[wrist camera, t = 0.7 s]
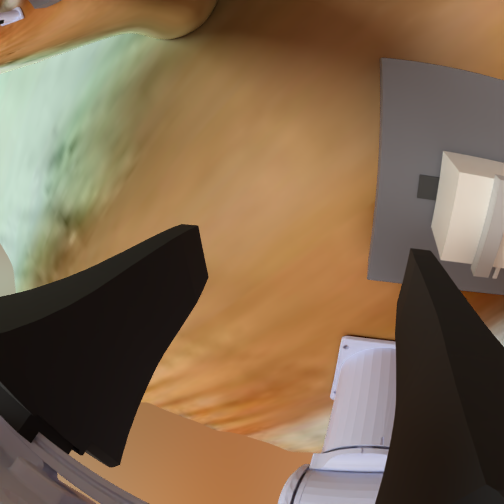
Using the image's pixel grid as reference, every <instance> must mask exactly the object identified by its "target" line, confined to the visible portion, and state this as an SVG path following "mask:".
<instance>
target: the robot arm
mask: <svg viewBox="0 0 504 504" xmlns="http://www.w3.org/2000/svg"><path fill="white" fill-rule="evenodd" d="M207 279H208V272H207V268H206V263H205V258H204V253H203V248H202V243H201V238H200V233H199V228H198V226H196V225H185V224H181V225H178V226H175V227H173V228H170V229H168V230H166V231H164V232H161V233H159V234H157V235H155V236H153V237H151V238H149V239H147V240H145V241H143V242H141V243H139V244H137V245H135V246H133V247H132V248H130V249H128V250H126V251H124V252H122V253H120V254H117V255H115V256H113V257H111V258H109V259H107V260H105V261H103V262H101V263H99V264H97V265H95V266H93V267H91V268H88V269H86V270H84V271H81V272H79V273H76V274H74V275H71V276H69V277H66V278H64V279H61V280H58V281H55V282H52V283H49V284H46V285H43V286H40V287H37V288H34V289H31V290H27V291H23V292H19V293H15V294H11V295H7V296H2V297H0V504H96V503H95V502H93V501H92V500H90V499H89V498H87V497H86V496H84V495H83V494H81V493H79V492H78V491H76V490H74V489H73V488H71V487H69V486H68V485H66V484H64V483H63V482H61V481H59V480H58V478H57V473H59V474H60V475H61V476H63V477H64V478H65V479H66V480H68V481H69V482H70V483H72V484H73V485H75V486H76V487H77V488H79V489H80V490H82V491H83V492H84V493H86V494H87V495H89V496H90V497H92V498H93V499H95V500H96V501H98V502H99V503H101V504H149V503H147V502H145V501H143V500H141V499H139V498H137V497H135V496H133V495H131V494H130V493H128V492H126V491H124V490H122V489H120V488H119V487H117V486H115V485H114V484H112V483H110V482H109V481H107V480H105V479H104V478H102V477H100V476H99V475H97V474H96V473H94V472H93V471H91V470H90V469H88V468H87V467H85V466H83V465H82V464H81V463H79V462H78V461H76V460H75V459H73V458H72V457H71V456H69V455H68V454H69V453H70V451H71V450H74V451H75V452H76V453H78V454H79V455H83V454H84V453H85V452H86V453H88V454H89V455H91V456H92V457H94V458H95V459H97V460H98V461H100V462H102V463H103V464H105V465H107V466H108V467H115V466H118V465H120V462H121V458H122V454H123V451H124V448H125V444H126V441H127V437H128V434H129V431H130V428H131V426H132V423H133V420H134V417H135V415H136V412H137V409H138V407H139V405H140V402H141V400H142V397H143V395H144V393H145V390H146V388H147V386H148V384H149V382H150V380H151V378H152V375H153V373H154V371H155V369H156V367H157V365H158V363H159V361H160V360H161V358H162V356H163V355H164V353H165V351H166V350H167V348H168V347H169V345H170V344H171V342H172V340H173V339H174V337H175V336H176V334H177V333H178V331H179V330H180V328H181V327H182V325H183V324H184V322H185V321H186V319H187V317H188V316H189V314H190V313H191V311H192V310H193V308H194V306H195V305H196V303H197V301H198V299H199V297H200V295H201V293H202V291H203V289H204V286H205V284H206V282H207ZM346 345H348V346H346ZM330 398H331V399H333V400H334V403H333V408H332V412H331V416H330V421H329V425H328V429H327V433H326V437H325V441H324V445H323V449H322V452H321V453H314V454H313V456H312V460H311V463H310V464H305V465H302V466H301V467H299V468H298V469H297V470H296V471H295V472H294V473H292V475H291V476H290V477H289V478H288V480H287V481H286V483H285V485H284V487H283V489H282V492H281V495H280V498H279V502H278V504H504V347H503V345H502V344H501V343H500V342H499V341H498V340H497V338H496V337H495V336H494V335H493V334H492V332H491V331H490V330H489V329H488V327H487V326H486V325H485V324H484V322H483V321H482V320H481V318H480V317H479V316H478V314H477V313H476V312H475V311H474V309H473V308H472V307H471V305H470V304H469V302H468V301H467V300H466V298H465V297H464V296H463V294H462V293H461V292H460V290H459V289H458V287H457V286H456V285H455V283H454V282H453V280H452V279H451V278H450V276H449V275H448V273H447V272H446V271H445V269H444V268H443V266H442V265H441V264H440V262H439V261H438V259H437V258H436V257H435V255H434V254H433V253H432V252H431V251H430V250H422V249H414V248H410V252H409V257H408V261H407V266H406V270H405V274H404V278H403V282H402V286H401V290H400V294H399V298H398V302H397V313H396V329H395V341H386V340H378V339H370V338H362V337H354V336H344V337H342V339H341V344H340V350H339V355H338V361H337V366H336V371H335V376H334V381H333V386H332V390H331V395H330Z"/></svg>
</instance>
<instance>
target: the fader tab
mask: <svg viewBox="0 0 504 504" xmlns="http://www.w3.org/2000/svg"><path fill="white" fill-rule="evenodd" d="M431 228H432V231H433V234H434V238H435V241H436V245H437V248H438V252H439V256H440V260H444V261H452V262H460V263H467V264H472V265H471V270H472V273H473V276H477V277H486V278H488V277H489V275H490V272H491V269H492V267H498V268H504V163H502V162H498V161H494V160H489V159H484V158H480V157H475V156H469V155H464V154H459V153H453V152H447V151H443V156H442V164H441V172H440V179H439V185H438V192H437V198H436V203H435V209H434V214H433V219H432V224H431Z"/></svg>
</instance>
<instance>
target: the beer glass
mask: <svg viewBox="0 0 504 504" xmlns="http://www.w3.org/2000/svg"><path fill="white" fill-rule="evenodd" d="M216 3H217V0H0V74H2V73H6V72H9V71H12V70H15V69H18V68H21V67H25V66H28V65H31V64H35V63H38V62H41V61H43V60H46V59H49V58H51V57H54V56H57V55H60V54H63V53H66V52H69V51H71V50H74V49H77V48H80V47H82V46H85V45H88V44H91V43H94V42H97V41H100V40H103V39H106V38H109V37H113V36H117V35H121V34H128V33H132V34H140V35H143V36H147V37H151V38H156V39H174V38H178V37H182V36H184V35H187V34H189V33H191V32H192V31H194V30H195V29H197V28H198V27H199V26H200V25H202V24H203V23H204V22H205V21H206V19H207V18H208V17H209V16H210V14H211V13H212V11H213V9H214V8H215V5H216Z"/></svg>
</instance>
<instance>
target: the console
mask: <svg viewBox="0 0 504 504" xmlns="http://www.w3.org/2000/svg"><path fill="white" fill-rule="evenodd" d="M443 151H447V152H453V153H459V154H464V155H469V156H475V157H480V158H484V159H489V160H494V161H498V162H502V163H504V81H503V80H500V79H496V78H493V77H489V76H485V75H482V74H478V73H473V72H469V71H465V70H460V69H456V68H451V67H446V66H440V65H435V64H429V63H422V62H416V61H408V60H400V59H392V58H380V140H379V160H378V176H377V189H376V200H375V210H374V219H373V228H372V236H371V244H370V252H369V259H368V275H367V279H368V280H376V281H385V282H393V283H402V282H403V278H404V274H405V270H406V266H407V261H408V257H409V252H410V248H414V249H422V250H430V251H431V252H432V253H433V254H434V255H435V257H436V258H437V259H438V261H439V262H440V264H441V265H442V266H443V268H444V269H445V271H446V272H447V273H448V275H449V276H450V278H451V279H452V280H453V282H454V283H455V285H456V286H457V287H458V289H459V290H463V291H472V292H481V293H490V294H500V295H504V268H498V267H492V269H491V272H490V275H489V277H488V278H486V277H477V276H473V273H472V270H471V265H472V264H467V263H460V262H452V261H444V260H440V256H439V252H438V248H437V245H436V241H435V238H434V234H433V231H432V228H431V224H432V219H433V214H434V209H435V203H436V198H437V192H438V185H439V179H440V172H441V164H442V156H443Z"/></svg>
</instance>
